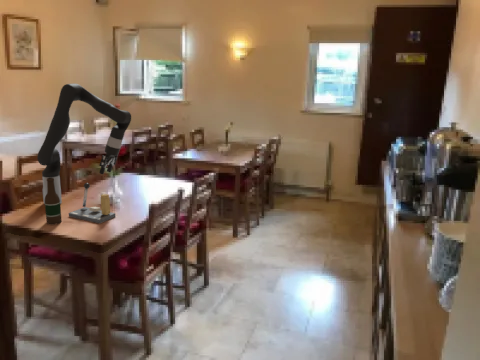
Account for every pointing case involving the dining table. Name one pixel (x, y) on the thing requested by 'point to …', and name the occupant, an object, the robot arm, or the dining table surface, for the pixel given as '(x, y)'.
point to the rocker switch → (94, 209)
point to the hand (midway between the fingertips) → (105, 172)
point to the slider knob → (105, 204)
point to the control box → (91, 215)
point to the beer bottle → (52, 204)
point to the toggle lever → (85, 193)
